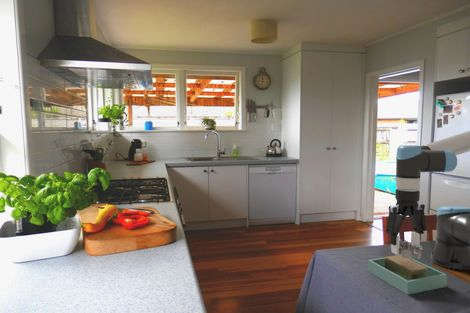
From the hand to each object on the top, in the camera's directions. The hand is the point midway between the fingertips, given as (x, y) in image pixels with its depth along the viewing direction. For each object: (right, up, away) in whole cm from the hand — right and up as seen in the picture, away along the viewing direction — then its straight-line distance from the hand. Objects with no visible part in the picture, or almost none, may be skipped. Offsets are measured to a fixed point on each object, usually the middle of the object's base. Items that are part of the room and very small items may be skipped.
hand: (405, 251), depth 113 cm
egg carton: (0, -1, 0) cm, 1 cm away
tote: (0, -11, +1) cm, 11 cm away
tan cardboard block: (0, -10, +1) cm, 10 cm away
